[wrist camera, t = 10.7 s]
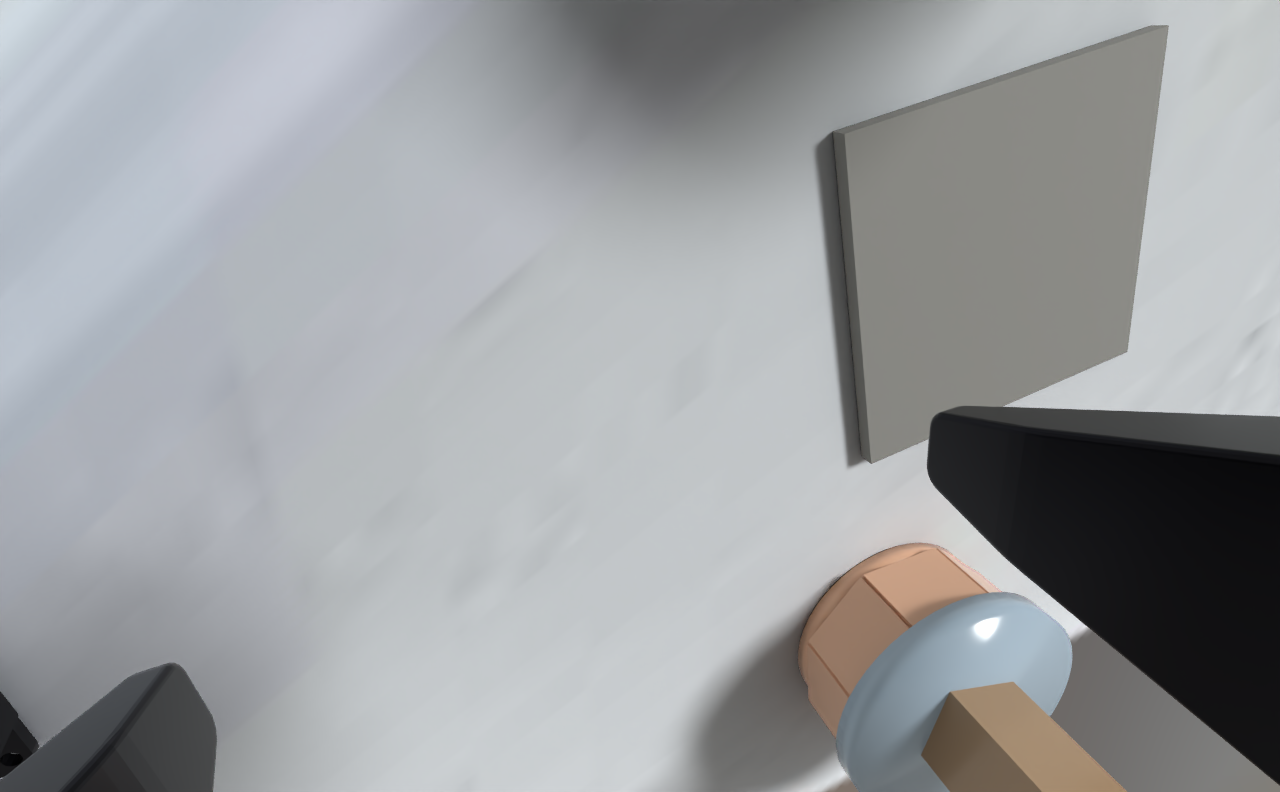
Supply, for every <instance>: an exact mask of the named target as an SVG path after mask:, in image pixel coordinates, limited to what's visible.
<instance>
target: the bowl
mask: <svg viewBox="0 0 1280 792" xmlns="http://www.w3.org/2000/svg"><path fill="white" fill-rule="evenodd" d="M991 592H1002V591H1001V590H999V589H998V588H997V587H996V586H995V585H993V584H992V583H991V582H990V581H989V580H988V579H986V578H985V577H984V576H983V575H982V574H980V573H979V572H977V571H976V570H974V569H972V568H971V567H969V566H967V565H966V564H964V563H962V562H961V561H960V560H959V559H957V558H956V557H955V556H954V555H953V554H951V553H950V552H949V551H947V550H946V549H944V548H942V547H940V546H937V545H933V544H928V543H911V544H905V545H900V546H896V547H893V548H890V549H887V550H884V551H882V552H880V553H877V554H875V555H873V556H872V557H870V558H868V559H866V560H864V561H863V562H861V563H860V564H858V565H857V566H855V567H854V568H852V569H851V570H850V571H849V572H847V573H846V574H845V575H844V576H842V577H841V578H840V579H839V580H838V581H837V582H836V583H835V584H834V585H833V586H832V587H831V588H830V589H829V590H828V591H827V593H826V594H825V595H824V596H823V597H822V599H821V600H820V601H819V603H818V604H817V605H816V607H815V608H814V610H813V612H812V613H811V615H810V617H809V619H808V621H807V623H806V625H805V627H804V630H803V633H802V636H801V639H800V643H799V648H798V664H799V669H800V673H801V676H802V677H803V679H804V681H805V683H806V684H807V685H808V700H809V701H810V703H811V704H812V706H813V707H814V708H815V710H816V711H817V713H818V714H819V716H820V717H821V719H822V720H823V721H824V723H825V724H826V726H827V727H828V729H829V730H830V731H831V733H832V734H833V736H834V737H835V739H836V735H837V729H838V724H839V721H840V718H841V715H842V712H843V709H844V707H845V705H846V703H847V700H848V698H849V696H850V695H851V693H852V691H853V690H854V688H855V686H856V684H857V683H858V681H859V680H860V679H861V677H862V676H863V674H864V673H865V672H866V670H867V669H868V668H869V667H870V666H871V664H872V663H873V662H874V661H875V660H876V658H877V657H878V656H879V655H880V654H881V653H882V652H883V651H884V650H885V649H886V648H887V647H888V646H889V645H890V644H891V643H892V642H893V641H895V640H896V639H897V638H898V637H899V636H900V635H902V634H903V633H904V632H905V631H907V630H908V629H909V628H911V627H912V626H913V625H915V624H916V623H917V622H919V621H920V620H922V619H924V618H925V617H927V616H929V615H930V614H932V613H933V612H935V611H937V610H939V609H941V608H943V607H945V606H947V605H949V604H951V603H954V602H956V601H959V600H962V599H964V598H968V597H971V596H975V595H978V594H984V593H991Z"/></svg>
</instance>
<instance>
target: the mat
mask: <svg viewBox="0 0 1280 792" xmlns="http://www.w3.org/2000/svg"><path fill="white" fill-rule="evenodd" d="M1168 27H1169V25H1160V26H1149V27H1146V28H1143V29H1140V30H1137V31H1134V32H1131V33H1128V34H1125V35H1122V36H1119V37H1116V38H1113V39H1110V40H1107V41H1104V42H1101V43H1098V44H1095V45H1092V46H1089V47H1086V48H1082V49H1079V50H1076V51H1073V52H1070V53H1067V54H1064V55H1061V56H1058V57H1055V58H1052V59H1049V60H1046V61H1043V62H1040V63H1037V64H1034V65H1031V66H1028V67H1025V68H1022V69H1019V70H1016V71H1013V72H1010V73H1007V74H1004V75H1001V76H998V77H995V78H992V79H989V80H986V81H983V82H980V83H977V84H974V85H971V86H968V87H965V88H962V89H959V90H956V91H953V92H950V93H947V94H944V95H941V96H938V97H935V98H932V99H929V100H926V101H923V102H920V103H917V104H914V105H911V106H908V107H905V108H902V109H899V110H896V111H893V112H890V113H887V114H884V115H881V116H878V117H875V118H872V119H869V120H866V121H863V122H860V123H857V124H854V125H851V126H848V127H845V128H842V129H839V130H836V131H833V139H834V150H835V161H836V173H837V184H838V195H839V207H840V218H841V229H842V240H843V252H844V263H845V274H846V285H847V297H848V308H849V319H850V330H851V342H852V353H853V364H854V376H855V387H856V398H857V409H858V421H859V432H860V443H861V454H862V457H863V458H865V459H866V460H867V461H868V462H869V463H871V464H872V463H875V462H877V461H879V460H882V459H884V458H886V457H888V456H891V455H893V454H895V453H897V452H900V451H902V450H904V449H907V448H909V447H911V446H913V445H916V444H918V443H920V442H923V441H925V440H927V439H929V431H930V422H931V420H932V418H933V417H934V416H935V415H936V414H937V413H939V412H942V411H945V410H948V409H951V408H954V407H957V406H991V407H1002V406H1005V405H1007V404H1009V403H1012V402H1014V401H1016V400H1018V399H1021V398H1023V397H1025V396H1028V395H1030V394H1032V393H1034V392H1037V391H1039V390H1041V389H1043V388H1046V387H1048V386H1050V385H1053V384H1055V383H1057V382H1059V381H1062V380H1064V379H1066V378H1069V377H1071V376H1073V375H1075V374H1078V373H1080V372H1082V371H1085V370H1087V369H1089V368H1091V367H1094V366H1096V365H1098V364H1101V363H1103V362H1105V361H1107V360H1110V359H1112V358H1114V357H1116V356H1119V355H1121V354H1123V353H1126V352H1127V350H1128V342H1129V334H1130V326H1131V318H1132V310H1133V303H1134V295H1135V287H1136V279H1137V271H1138V263H1139V255H1140V247H1141V240H1142V232H1143V224H1144V216H1145V208H1146V200H1147V192H1148V185H1149V177H1150V169H1151V161H1152V153H1153V145H1154V137H1155V129H1156V122H1157V114H1158V106H1159V98H1160V90H1161V82H1162V74H1163V66H1164V59H1165V51H1166V43H1167V35H1168Z"/></svg>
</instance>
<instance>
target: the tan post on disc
mask: <svg viewBox="0 0 1280 792" xmlns="http://www.w3.org/2000/svg"><path fill="white" fill-rule="evenodd" d="M1071 665H1072V646H1071V642H1070V639H1069V636H1068V634H1067V633H1066V631H1065V629H1064V628H1063V627H1062V626H1061V625H1060V624H1059V623H1058V622H1057V621H1056V620H1054V619H1053V618H1052V617H1051V616H1050V615H1048V614H1047V613H1046V612H1045V611H1043V610H1042V609H1041V608H1040V607H1039V606H1037V605H1036V604H1035V603H1034V602H1032V601H1031V600H1029V599H1028V598H1026V597H1024V596H1021V595H1018V594H1015V593H1008V592H991V593H984V594H978V595H975V596H971V597H968V598H964V599H962V600H959V601H956V602H954V603H951V604H949V605H947V606H945V607H943V608H941V609H939V610H937V611H935V612H933V613H932V614H930V615H929V616H927V617H925V618H924V619H922V620H920V621H919V622H917V623H916V624H915V625H913V626H912V627H911V628H909V629H908V630H907V631H905V632H904V633H903V634H902V635H900V636H899V637H898V638H897V639H896V640H895V641H893V642H892V643H891V644H890V645H889V646H888V647H887V648H886V649H885V650H884V651H883V652H882V653H881V654H880V655H879V656H878V657H877V658H876V660H875V661H874V662H873V663H872V664H871V666H870V667H869V668H868V669H867V670H866V672H865V673H864V674H863V676H862V677H861V679H860V680H859V681H858V683H857V684H856V686H855V688H854V690H853V691H852V693H851V695H850V696H849V698H848V700H847V703H846V705H845V707H844V709H843V712H842V715H841V718H840V721H839V724H838V729H837V735H836V750H837V755H838V759H839V761H840V764H841V766H842V768H843V769H844V771H845V772H846V774H847V775H848V776H849V778H850V779H851V781H852V782H853V784H854V785H855V787H856V788H857V790H858V791H859V792H1127V791H1126V790H1125V789H1124V788H1123V787H1122V786H1121V785H1120V784H1119V783H1118V782H1116V780H1114V779H1113V778H1112V777H1111V776H1110V775H1109V774H1108V773H1107V772H1106V771H1105V770H1104V769H1103V768H1102V767H1101V766H1100V765H1099V764H1098V763H1097V762H1096V761H1095V760H1094V759H1093V758H1092V757H1091V756H1090V755H1089V754H1088V753H1087V752H1086V751H1085V750H1084V749H1082V748H1081V747H1080V746H1079V745H1078V744H1077V743H1076V742H1075V741H1074V740H1073V739H1072V738H1071V737H1070V736H1069V735H1068V734H1067V733H1066V732H1065V731H1064V730H1063V729H1062V728H1061V727H1060V726H1059V725H1058V724H1057V723H1056V722H1055V721H1054V720H1053V719H1051V718H1050V716H1051V714H1052V712H1053V711H1054V709H1055V707H1056V706H1057V704H1058V702H1059V700H1060V698H1061V696H1062V694H1063V692H1064V690H1065V687H1066V684H1067V681H1068V679H1069V674H1070V670H1071Z"/></svg>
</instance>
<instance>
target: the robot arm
mask: <svg viewBox="0 0 1280 792" xmlns="http://www.w3.org/2000/svg"><path fill="white" fill-rule="evenodd" d="M927 470H928V475H929V477H930V480H931V482H932V483H933V485H934V486H935V488H936V489H937V490H938V491H939V492H940V493H941V494H942V495H943V496H944V497H945V498H946V499H947V500H948V501H949V502H950V503H951V504H952V505H953V506H954V507H955V508H956V509H957V510H958V511H959V512H960V513H961V514H962V515H963V516H964V517H965V518H966V519H967V520H968V521H969V522H970V523H971V524H972V525H973V526H974V527H975V528H976V529H977V530H978V531H979V532H980V533H981V534H982V535H983V536H984V537H985V538H986V539H987V540H988V541H989V542H990V543H991V544H992V546H993V547H994V548H996V549H997V550H998V551H999V552H1000V553H1001V554H1002V555H1003V556H1004V557H1005V558H1006V559H1007V560H1008V561H1009V562H1010V563H1012V564H1013V565H1014V566H1015V567H1016V568H1017V569H1019V570H1020V571H1021V572H1022V573H1023V574H1024V575H1026V576H1027V577H1028V578H1029V579H1030V580H1032V581H1033V582H1034V583H1035V584H1037V585H1038V586H1039V587H1040V588H1041V589H1043V590H1044V591H1045V592H1046V593H1047V594H1049V595H1050V596H1051V597H1052V598H1053V599H1055V600H1056V601H1057V602H1058V603H1060V604H1061V605H1062V606H1063V607H1064V608H1066V609H1067V610H1068V611H1069V612H1070V613H1072V614H1073V615H1074V616H1075V617H1076V618H1078V619H1079V620H1080V621H1081V622H1082V623H1084V624H1085V625H1086V626H1087V627H1089V628H1090V629H1091V630H1092V631H1093V632H1095V633H1096V634H1097V635H1098V636H1100V637H1101V638H1102V639H1103V640H1104V641H1106V642H1107V643H1108V644H1109V645H1110V646H1112V647H1113V648H1114V649H1115V650H1116V651H1118V652H1119V653H1120V654H1121V655H1122V656H1124V657H1125V658H1126V659H1127V660H1129V661H1130V662H1131V663H1132V664H1133V665H1135V666H1136V667H1137V668H1138V669H1139V670H1141V671H1142V672H1143V673H1144V674H1145V675H1147V676H1148V677H1149V678H1150V679H1152V680H1153V681H1154V682H1155V683H1156V684H1158V685H1159V686H1160V687H1161V688H1163V689H1164V690H1165V691H1166V692H1167V693H1168V694H1170V695H1171V696H1172V697H1173V698H1174V699H1176V700H1177V701H1178V702H1179V703H1180V704H1182V705H1183V706H1184V707H1185V708H1187V709H1188V710H1189V711H1190V712H1191V713H1193V714H1194V715H1195V716H1196V717H1197V718H1199V719H1200V720H1201V721H1202V722H1204V723H1205V724H1206V725H1207V726H1209V727H1210V728H1211V729H1212V730H1213V731H1214V732H1216V733H1217V734H1218V735H1219V736H1220V737H1222V738H1223V739H1224V740H1225V741H1226V742H1228V743H1229V744H1230V745H1231V746H1233V747H1234V748H1235V749H1236V750H1237V751H1239V752H1240V753H1241V754H1242V755H1243V756H1245V757H1246V758H1247V759H1248V760H1249V761H1251V762H1252V763H1253V764H1254V765H1255V766H1257V767H1258V768H1259V769H1260V770H1262V771H1263V772H1264V773H1265V774H1266V775H1268V776H1269V777H1270V778H1271V779H1273V780H1274V781H1275V782H1276V783H1277V784H1279V785H1280V417H1277V416H1249V415H1220V414H1191V413H1163V412H1134V411H1105V410H1077V409H1048V408H1019V407H991V406H957V407H954V408H951V409H948V410H945V411H942V412H939V413H937V414H936V415H935V416H934V417H933V418H932V420H931V422H930V431H929V444H928V457H927ZM216 746H217V735H216V728H215V723H214V720H213V717H212V715H211V713H210V711H209V710H208V708H207V706H206V705H205V703H204V701H203V700H202V698H201V696H200V695H199V693H198V691H197V690H196V688H195V686H194V685H193V683H192V682H191V680H190V678H189V677H188V675H187V673H186V672H185V670H184V669H183V668H182V667H181V666H180V665H178V664H175V663H167V664H164V665H161V666H158V667H154V668H151V669H148V670H145V671H142V672H139V673H136V674H134V675H132V676H130V677H128V678H127V679H126V680H124V681H123V682H122V683H121V684H119V685H118V686H117V687H116V688H114V689H113V690H112V691H111V692H109V693H108V694H107V695H106V696H105V697H103V698H102V699H101V700H100V701H98V702H97V703H96V704H95V705H93V706H92V707H91V708H90V709H88V710H87V711H86V712H85V713H83V714H82V715H81V716H80V717H78V718H77V719H76V720H75V721H73V722H72V723H71V724H70V725H68V726H67V727H66V728H65V729H63V730H62V731H61V732H60V733H59V734H57V735H56V736H55V737H54V738H52V739H51V740H50V741H49V742H47V743H46V744H45V745H44V746H42V747H41V748H40V749H39V750H38V748H39V745H38V742H37V740H36V739H35V738H34V737H33V735H32V734H31V733H30V732H29V730H28V729H27V728H26V727H25V725H24V724H23V723H22V722H21V720H20V719H19V718H18V713H17V712H16V711H15V709H14V708H13V707H12V705H11V704H10V703H9V702H8V700H7V699H6V698H5V697H4V695H3V694H2V693H1V692H0V778H1V777H4V776H5V777H4V778H3V779H1V780H0V792H213V784H214V771H215V759H216ZM10 753H19V754H10Z"/></svg>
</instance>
